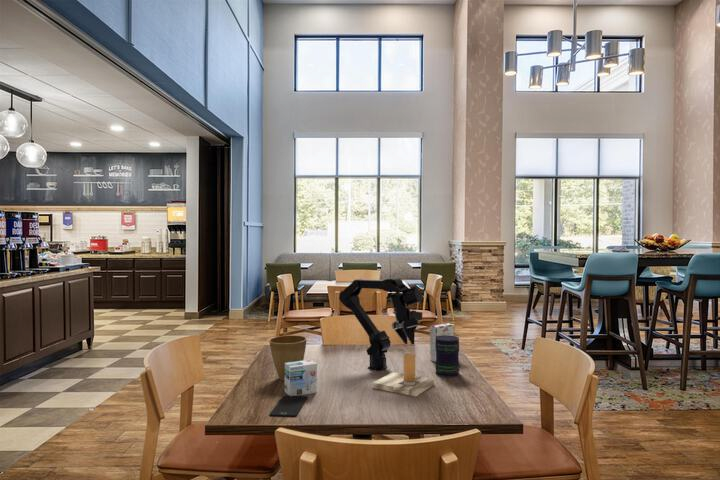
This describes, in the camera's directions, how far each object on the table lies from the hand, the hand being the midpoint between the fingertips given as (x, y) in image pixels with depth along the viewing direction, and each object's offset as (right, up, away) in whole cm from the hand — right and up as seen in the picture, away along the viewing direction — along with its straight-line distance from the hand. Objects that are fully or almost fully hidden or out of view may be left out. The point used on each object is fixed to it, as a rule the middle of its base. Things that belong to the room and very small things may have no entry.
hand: (409, 344), depth 190 cm
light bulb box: (-42, -13, -22) cm, 50 cm away
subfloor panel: (-4, -12, -16) cm, 21 cm away
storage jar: (+16, -13, 0) cm, 20 cm away
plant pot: (-50, -13, -6) cm, 52 cm away
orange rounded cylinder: (-2, -12, -18) cm, 22 cm away
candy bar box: (+18, -13, +21) cm, 30 cm away
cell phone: (-44, -13, -36) cm, 59 cm away
